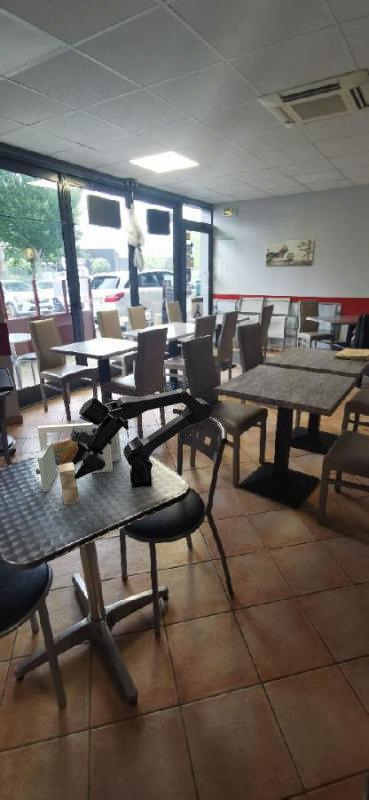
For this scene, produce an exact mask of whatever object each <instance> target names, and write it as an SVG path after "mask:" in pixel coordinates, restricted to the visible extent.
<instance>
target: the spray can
mask: <svg viewBox="0 0 369 800" xmlns="http://www.w3.org/2000/svg"><path fill="white" fill-rule="evenodd" d="M100 424H101V423H100ZM100 424H99V425H100ZM111 441H112V444H111V445H110V448H111V457H112V463H115V462H117V461H120V460H121V459H122V452H121V451H122V450H121V440H120V430H119V431H118V433H117V434H116V435H115V436H114V437H113V439H112V440H111Z"/></svg>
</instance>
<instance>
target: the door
mask: <svg viewBox="0 0 369 800" xmlns="http://www.w3.org/2000/svg"><path fill="white" fill-rule="evenodd" d="M53 444H54V443H53V441H48V442H47V444H46V445H45V447H44V448H43V450H42V452H41V451H40V453H39V455H38V456H37V463H38V468H37V469H35V474H36V475H40V481H41V486H42V491H43V492H49V490H50V488H51V487H52V484H53V482H54V480H55V478H56V477H57V474H58V471H57V465H56V463H55V457H54V451H53Z"/></svg>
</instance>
